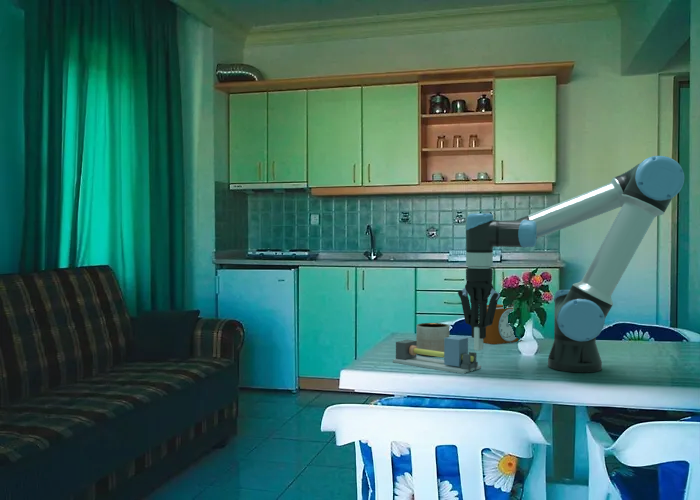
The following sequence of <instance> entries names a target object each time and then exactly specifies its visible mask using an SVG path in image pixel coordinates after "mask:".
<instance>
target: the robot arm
mask: <svg viewBox="0 0 700 500" xmlns="http://www.w3.org/2000/svg"><path fill="white" fill-rule="evenodd" d="M684 182H685V173H684V170H683V168H682V166H681V164H680V163H679V162H678V161H677V160H675V159H673V158H671V157H669V156H664V155H653V156H649V157H647V158H646V159H644V160H642V161H641V162H640V163H638V164H636V165H635V166H634V167H632V168H631V169H629V170H627V171H625V172H623V173H621V174H619V175H617V176H614V177H612V179H611V181H610V182H608V183H606V184H604V185H601V186H599V187H596V188H594V189H592V190H589V191H588V190H587V191H585V192H584V193H581V194H579V195H576V196H574V197H570V198H568V199H566V200H563V201H561V202H558V203H555V204H553V205H551V206H548V207H546V208H543V209H541V210H538V211H535V212H533V213H530V214H528V215H525V216H522V217H520V218H518V219H516V220H515V219H514V220H496V219H495V218H494V214H493V213H469V214H468V216H466V228H465V229H466V230H465V234H466V235H465V242H466V243H465V247H466V248H465V249H466V250H465V266H467V268H466V269H465V281H466V283H465V285H464V288H462V289H460V290H458V291H457V295H458V296H459V298H460V302H461V307H462V308H461V309H462V312H463V318H464V322H465V324H466V325H469V326H471V338H473V350H474V351H481V350H484V343H483V339H484V338H485V337H486V327H487V326H489V325H492V323H493V319H494V315H495V310H496V306H497V304H498V302H499V300H500V298H501V297H502V293H501V292H497V291H496V290H495V289H494V285H493V278H494V277H493V276H494V275H493V273H494V271H493V268H491V267H493V266H494V265H493V264H494V263H493V261H494V257H493V256H494V247H496V248H498V247H499V248H500V247H501V248H504V247H505V248H523V249H525V248H534V247H535V246H536V245H537V239H540V238H543V237H544V236H547V235H550V234H554V233H555V232H558V231H560V230H563V229H566V228H568V227H571V226H574V225H576V224H579V223H582V222H584V221H587V220H590V219H592V218H595V217H597V216H600V215H603V214H605V213H608V212H611V211H613V210H616V209H619V208H620V210H619V212H618V213H617V215H616V217H615V219H614V221H613V222H612V224H611V226H610V228H609V229H608V232H606V236H605V237H604V239H603V240H602V243H601V244H600V245H599V248H598V250H597V252H596V253H595V255H594V257H593V258H592V260H591V262H590V264H589V266H588V268H587V269H586V272H585V274H584V275H583V276H582V279H581V280H580V281H579V282H575V283H573V284H572V285H571V287H570V288H569V289H558V290H556V291H555V293H554V298H553V301H554V324H553V325H554V330H553V331H554V332H553V333H554V334H553V335H554V336H553V337H554V339H553V340H554V341H553V343H552V347H551V349H550V352H549V355H548V358H547V366H548V367H549V368H551V369H553V370H557V371H561V372H570V373H594V372H595V373H596V372H600V371H602V369H603V368H602V366H603V362H602V358H601V356H600V355H601V354H600V352H599V349H598V346H597V343H596V342H597V341H596V340H597V337H598V336H599V335H600V334H601V332H602V331H603V329H604V328H605V327H604V326H605V324H606V323H605V322H606V318H607V316H608V314H609V312H610V311H611V309H612V307H613V306H614V303H613V300H612V295H613V293H614V291H615V290H616V288H617V286H618V284H619V282H620V281H621V278H622V277H623V275H624V273H625V271H626V269H627V268H628V266H629V264H630V263H631V261H632V259H633V257H634V255H636V252H637V250H638V248H639V246H640V244H641V243H642V241H643V239H644V237H645V235H646V233H647V232H648V230H649V228H650V226H651V225H652V223H653V221H654V219H655V218H656V217H659V216H662V215H664V214H665V212H666V210H667V209H668V208H669V206H670V203H671V202H672V200H673V198H675V197H676V196H677V195H678V194H679V193H680V192H681V191H682V188H683V186H684V184H685V183H684ZM468 295H469V296H468ZM489 297H490V299H489ZM469 298H470V299H469ZM488 300H489V302H488ZM487 305H489V306H488V311H487Z"/></svg>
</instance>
